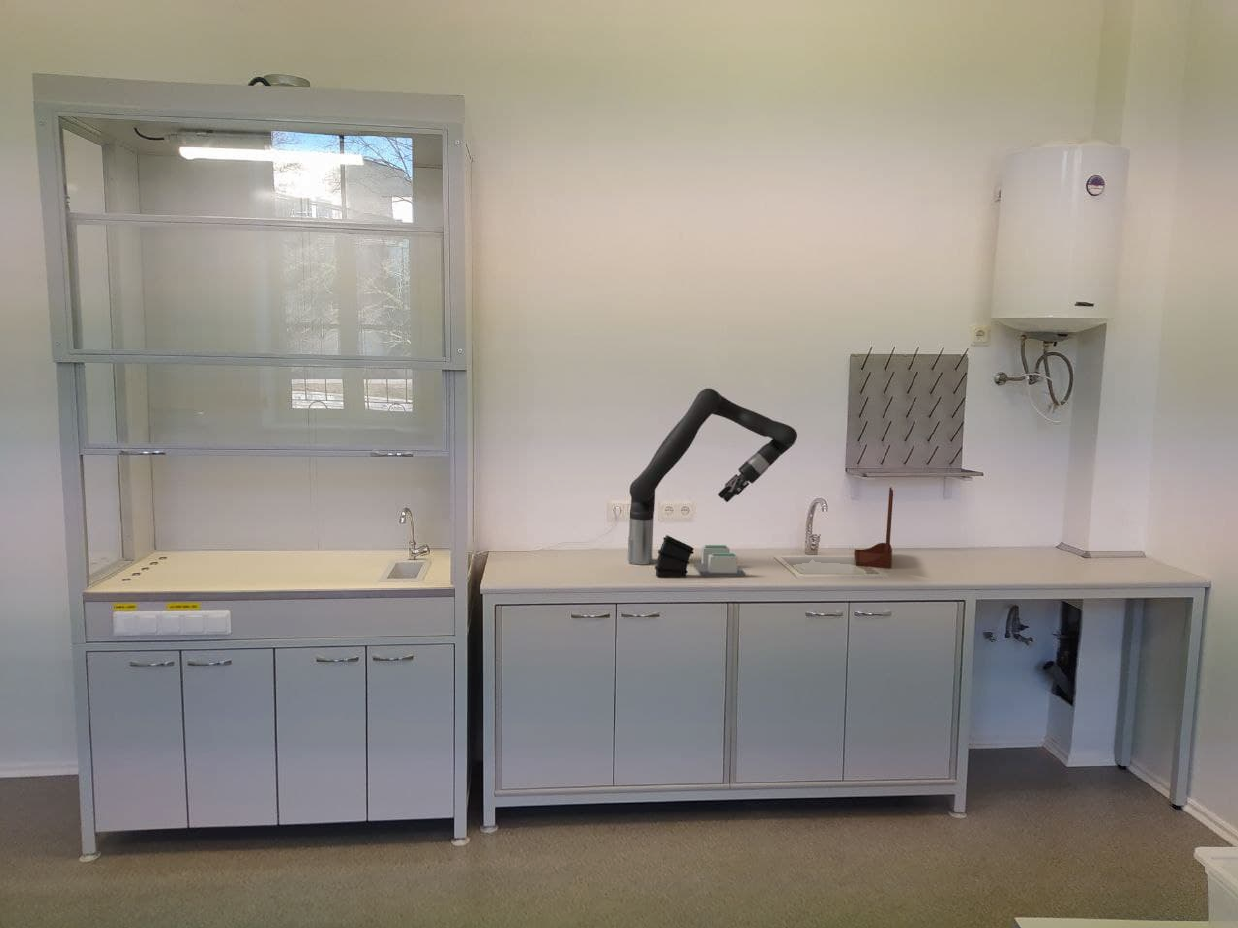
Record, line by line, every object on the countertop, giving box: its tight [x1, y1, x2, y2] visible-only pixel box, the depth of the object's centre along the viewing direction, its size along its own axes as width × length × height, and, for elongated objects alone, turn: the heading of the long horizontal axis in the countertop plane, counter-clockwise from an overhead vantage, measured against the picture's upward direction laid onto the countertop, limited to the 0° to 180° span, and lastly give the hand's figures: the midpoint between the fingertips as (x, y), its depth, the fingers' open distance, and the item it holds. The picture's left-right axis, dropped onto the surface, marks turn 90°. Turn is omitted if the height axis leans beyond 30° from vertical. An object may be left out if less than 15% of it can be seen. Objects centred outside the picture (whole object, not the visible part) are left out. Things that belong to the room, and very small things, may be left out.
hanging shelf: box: [854, 486, 894, 570], centre depth 311 cm, size 24×13×30 cm, turn 164°
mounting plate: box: [692, 544, 746, 578], centre depth 287 cm, size 16×17×8 cm
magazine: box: [654, 534, 694, 579], centre depth 278 cm, size 4×13×15 cm, turn 102°
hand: (722, 498), depth 282 cm, fingers open, 8 cm apart
